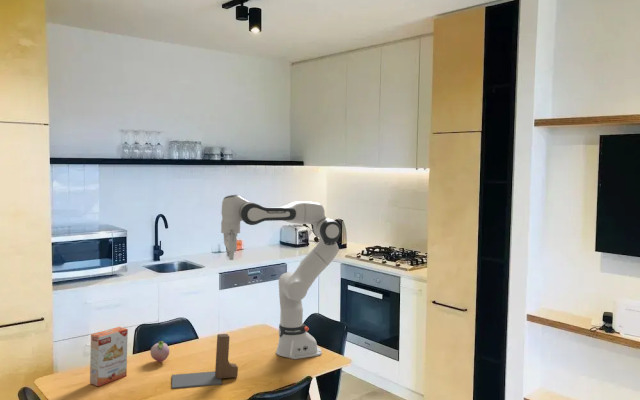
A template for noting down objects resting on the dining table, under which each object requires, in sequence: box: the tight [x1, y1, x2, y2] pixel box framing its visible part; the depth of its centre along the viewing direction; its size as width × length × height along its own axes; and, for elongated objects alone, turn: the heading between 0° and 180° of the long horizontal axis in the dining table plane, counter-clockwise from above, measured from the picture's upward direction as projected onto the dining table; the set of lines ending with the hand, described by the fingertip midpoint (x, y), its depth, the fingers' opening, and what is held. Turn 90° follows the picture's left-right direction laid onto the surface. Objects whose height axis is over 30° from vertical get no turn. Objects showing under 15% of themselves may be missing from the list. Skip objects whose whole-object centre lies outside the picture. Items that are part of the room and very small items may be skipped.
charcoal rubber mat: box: [171, 370, 223, 390], centre depth 215 cm, size 20×13×1 cm, turn 106°
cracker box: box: [89, 326, 129, 387], centre depth 212 cm, size 14×6×21 cm, turn 148°
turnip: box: [150, 340, 170, 363], centre depth 234 cm, size 9×8×10 cm
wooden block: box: [214, 333, 239, 379], centre depth 219 cm, size 9×4×18 cm, turn 112°
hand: (230, 258), depth 240 cm, fingers open, 8 cm apart
